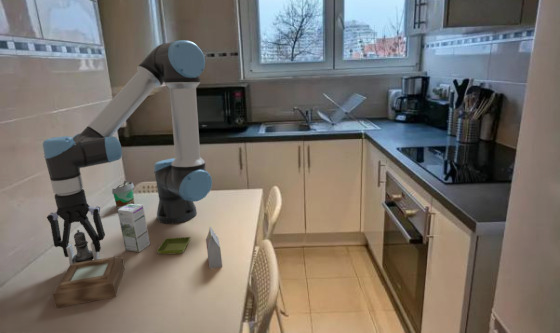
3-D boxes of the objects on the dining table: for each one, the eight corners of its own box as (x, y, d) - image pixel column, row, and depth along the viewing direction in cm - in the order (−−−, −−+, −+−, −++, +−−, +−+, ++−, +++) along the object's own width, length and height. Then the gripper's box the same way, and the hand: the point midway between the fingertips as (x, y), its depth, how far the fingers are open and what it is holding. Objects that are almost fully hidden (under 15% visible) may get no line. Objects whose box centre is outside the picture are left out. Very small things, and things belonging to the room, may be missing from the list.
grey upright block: (220, 255, 110) (216, 225, 108) (222, 266, 104) (218, 235, 101) (208, 257, 109) (204, 227, 107) (209, 268, 103) (205, 237, 100)
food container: (130, 211, 151) (126, 188, 148) (115, 211, 151) (111, 189, 148) (141, 200, 163) (138, 179, 160) (128, 201, 163) (124, 180, 160)
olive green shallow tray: (157, 256, 112) (156, 251, 112) (166, 243, 121) (165, 238, 120) (184, 255, 112) (183, 249, 111) (191, 242, 120) (191, 236, 120)
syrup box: (150, 244, 120) (143, 203, 116) (138, 252, 115) (131, 210, 111) (137, 242, 122) (129, 202, 118) (124, 250, 117) (116, 209, 113)
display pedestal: (124, 268, 106) (121, 253, 104) (115, 296, 93) (112, 279, 91) (73, 277, 103) (69, 261, 101) (56, 307, 89) (51, 289, 88)
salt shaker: (87, 271, 105) (79, 234, 102) (70, 270, 107) (61, 233, 103) (101, 261, 111) (93, 225, 108) (84, 260, 112) (76, 225, 109)
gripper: (107, 183, 108) (121, 252, 114) (37, 191, 104) (55, 262, 110) (101, 190, 101) (116, 264, 107) (26, 200, 97) (46, 275, 103)
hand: (85, 263), depth 108 cm, fingers closed on salt shaker, 6 cm apart
